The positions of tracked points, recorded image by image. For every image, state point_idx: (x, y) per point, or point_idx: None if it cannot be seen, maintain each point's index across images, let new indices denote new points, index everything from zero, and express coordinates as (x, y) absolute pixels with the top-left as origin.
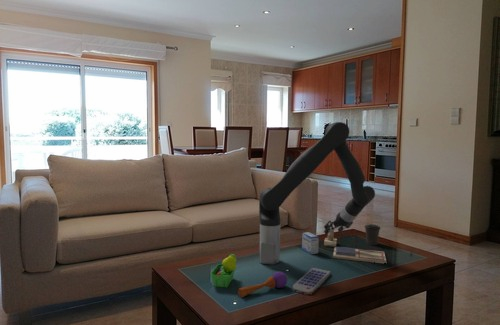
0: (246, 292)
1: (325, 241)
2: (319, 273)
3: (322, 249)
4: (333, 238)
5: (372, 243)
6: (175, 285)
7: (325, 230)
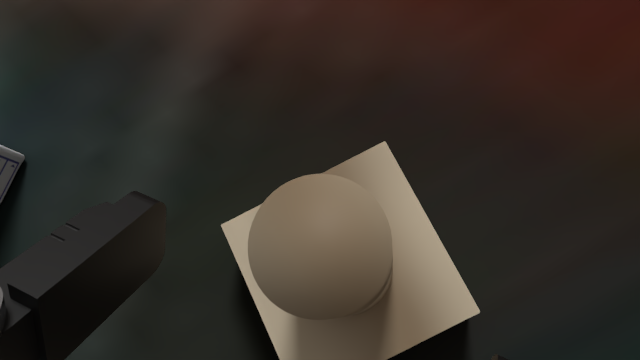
0: None
1: (231, 242)
2: None
3: None
4: (356, 314)
5: None
6: None
7: (45, 254)
